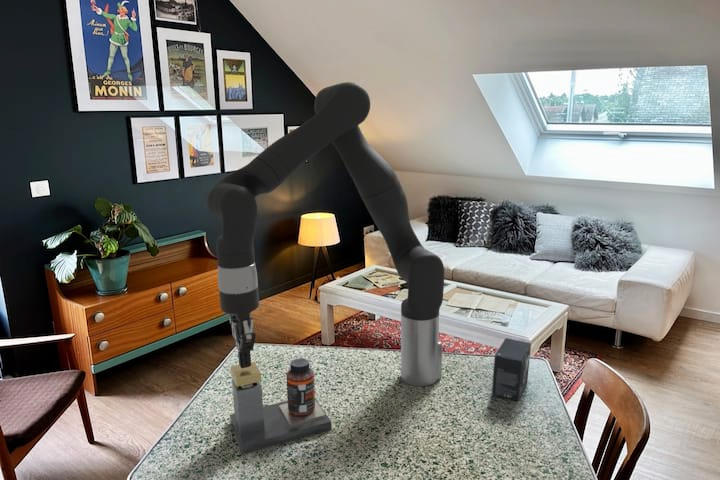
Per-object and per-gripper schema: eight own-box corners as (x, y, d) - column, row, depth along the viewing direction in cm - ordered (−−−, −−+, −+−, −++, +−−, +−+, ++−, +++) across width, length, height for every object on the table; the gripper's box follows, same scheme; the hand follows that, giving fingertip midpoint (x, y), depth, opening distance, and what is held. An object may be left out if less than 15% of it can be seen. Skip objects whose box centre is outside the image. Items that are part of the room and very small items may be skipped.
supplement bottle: (310, 418, 116) (308, 370, 113) (284, 415, 117) (281, 367, 115) (318, 403, 122) (316, 357, 119) (293, 401, 123) (290, 354, 120)
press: (312, 402, 127) (310, 355, 124) (331, 429, 117) (329, 378, 114) (230, 423, 120) (226, 373, 117) (242, 454, 109) (238, 400, 106)
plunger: (258, 412, 118) (254, 361, 115) (264, 424, 114) (260, 372, 111) (235, 418, 116) (230, 366, 113) (240, 430, 112) (235, 377, 109)
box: (519, 402, 126) (521, 360, 123) (490, 395, 129) (492, 354, 126) (529, 381, 135) (531, 342, 132) (502, 375, 138) (504, 337, 135)
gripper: (266, 292, 103) (272, 376, 107) (249, 273, 114) (255, 349, 119) (225, 299, 100) (233, 385, 104) (212, 278, 112) (220, 356, 116)
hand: (245, 365), depth 112 cm, fingers closed
